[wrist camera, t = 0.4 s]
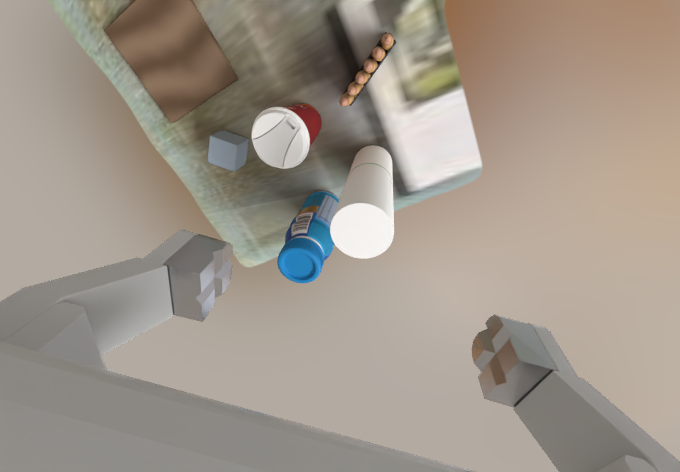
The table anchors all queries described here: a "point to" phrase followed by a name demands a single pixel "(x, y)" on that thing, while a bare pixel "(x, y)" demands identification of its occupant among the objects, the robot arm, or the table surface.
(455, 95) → the table surface
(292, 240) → the beverage bottle
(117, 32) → the brown rippled cloth
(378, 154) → the cylindrical container
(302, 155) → the coffee cup
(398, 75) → the table surface
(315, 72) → the table surface
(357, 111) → the table surface
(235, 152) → the slate cube
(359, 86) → the ammunition clip
